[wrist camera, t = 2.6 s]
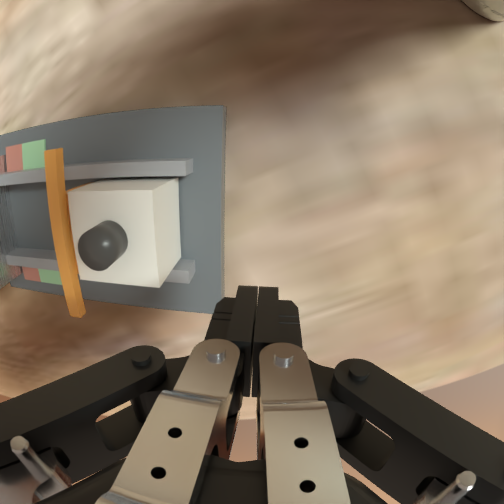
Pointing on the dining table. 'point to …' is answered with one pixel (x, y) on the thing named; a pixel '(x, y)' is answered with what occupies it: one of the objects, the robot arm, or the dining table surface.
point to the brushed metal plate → (6, 232)
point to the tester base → (126, 166)
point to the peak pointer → (63, 230)
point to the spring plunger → (126, 229)
